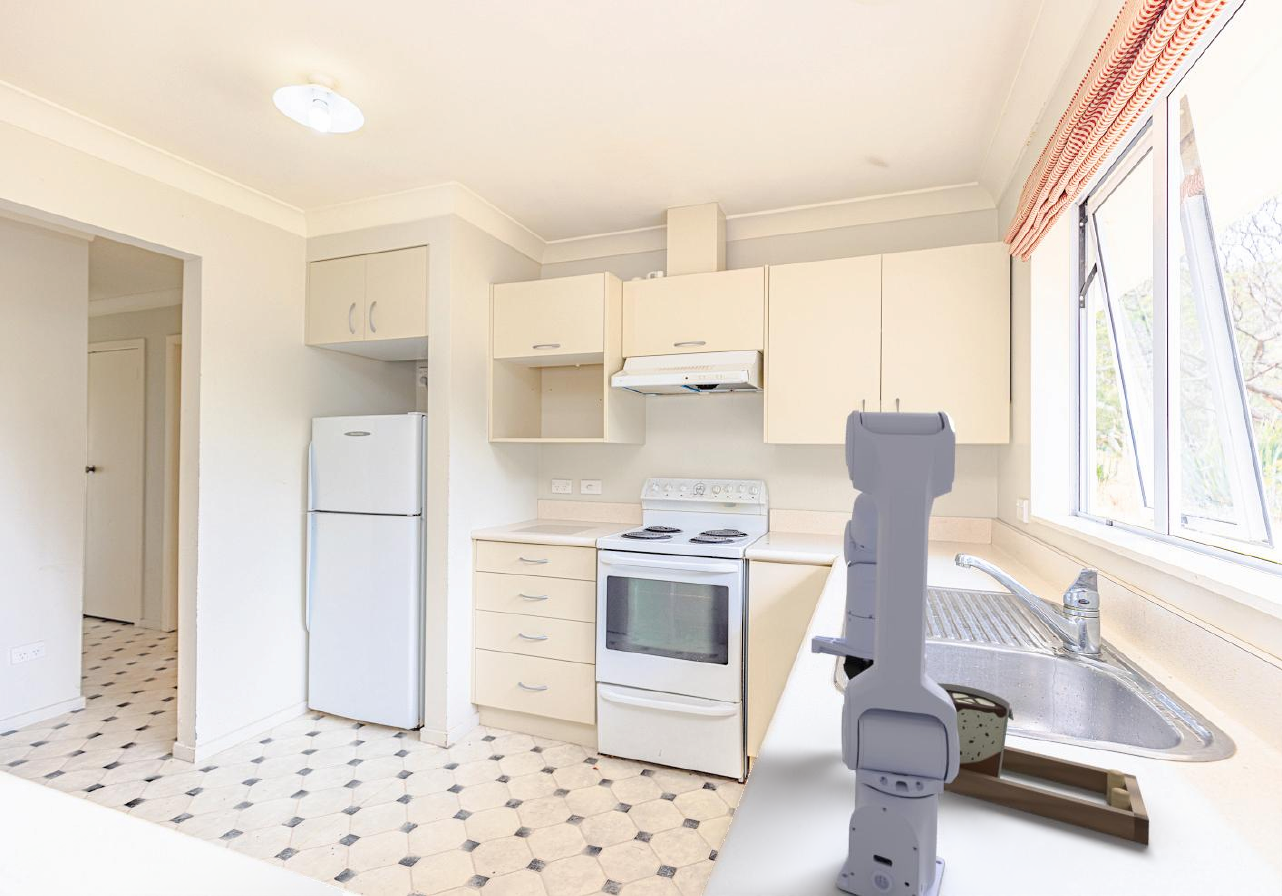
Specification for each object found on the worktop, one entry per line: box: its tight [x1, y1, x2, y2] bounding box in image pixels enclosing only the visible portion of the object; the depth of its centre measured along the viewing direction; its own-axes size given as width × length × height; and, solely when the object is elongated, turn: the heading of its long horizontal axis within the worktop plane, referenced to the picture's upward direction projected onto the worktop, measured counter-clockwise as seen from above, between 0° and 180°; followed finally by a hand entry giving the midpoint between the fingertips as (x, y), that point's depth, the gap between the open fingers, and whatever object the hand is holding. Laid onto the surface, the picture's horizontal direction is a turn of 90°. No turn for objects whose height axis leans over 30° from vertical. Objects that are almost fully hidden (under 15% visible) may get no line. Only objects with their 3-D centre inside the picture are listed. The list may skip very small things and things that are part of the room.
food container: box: [936, 682, 1015, 778], centre depth 81 cm, size 12×6×10 cm, turn 84°
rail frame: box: [943, 745, 1150, 846], centre depth 76 cm, size 11×20×4 cm, turn 58°
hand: (865, 715), depth 87 cm, fingers closed
